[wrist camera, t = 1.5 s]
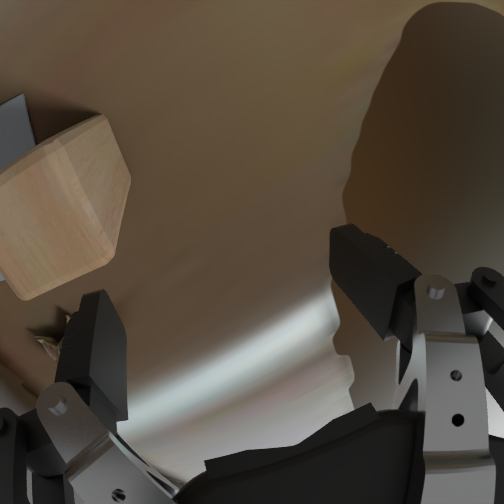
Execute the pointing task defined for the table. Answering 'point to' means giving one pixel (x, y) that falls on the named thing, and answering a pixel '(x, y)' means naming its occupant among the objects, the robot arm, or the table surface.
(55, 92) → the table surface
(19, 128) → the mat
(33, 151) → the wooden block
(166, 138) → the table surface
